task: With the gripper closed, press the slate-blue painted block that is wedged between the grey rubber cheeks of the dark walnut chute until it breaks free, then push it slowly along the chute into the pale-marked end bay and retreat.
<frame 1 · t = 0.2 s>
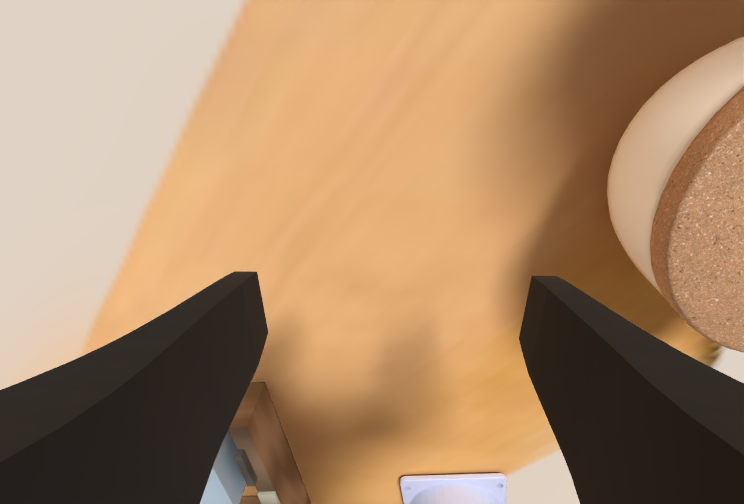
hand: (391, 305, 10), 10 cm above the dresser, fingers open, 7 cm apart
lidded jar: (687, 150, 18), on the dresser
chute: (234, 450, 30), on the dresser
slate block: (204, 451, 26), point 3 cm above the dresser, slide at 0.0 cm
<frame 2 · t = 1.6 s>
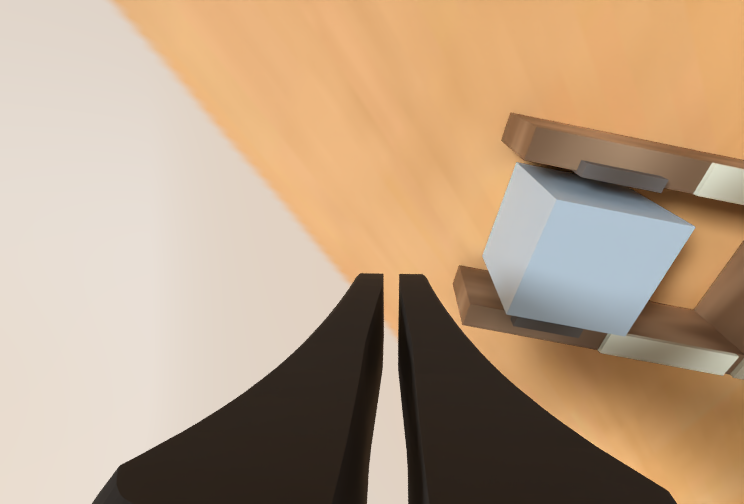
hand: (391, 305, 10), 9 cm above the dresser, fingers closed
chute: (616, 234, 19), on the dresser
slate block: (567, 244, 17), point 3 cm above the dresser, slide at 0.0 cm
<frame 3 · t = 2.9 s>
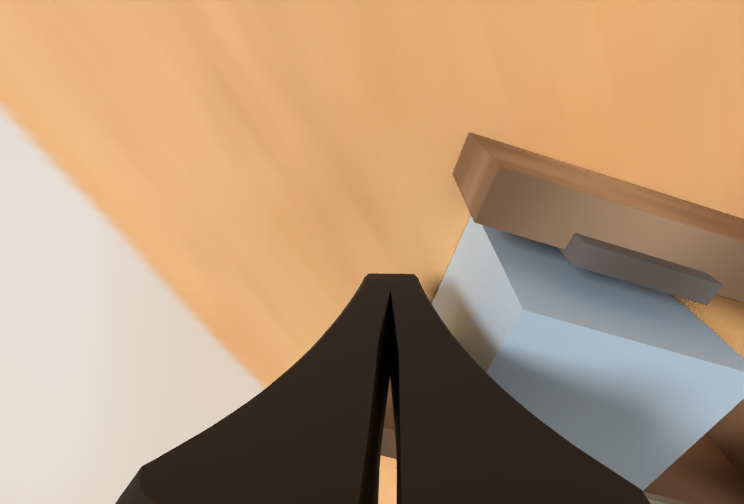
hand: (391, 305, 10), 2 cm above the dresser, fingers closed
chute: (610, 324, 13), on the dresser
slate block: (539, 349, 10), point 3 cm above the dresser, slide at 0.0 cm, touching gripper
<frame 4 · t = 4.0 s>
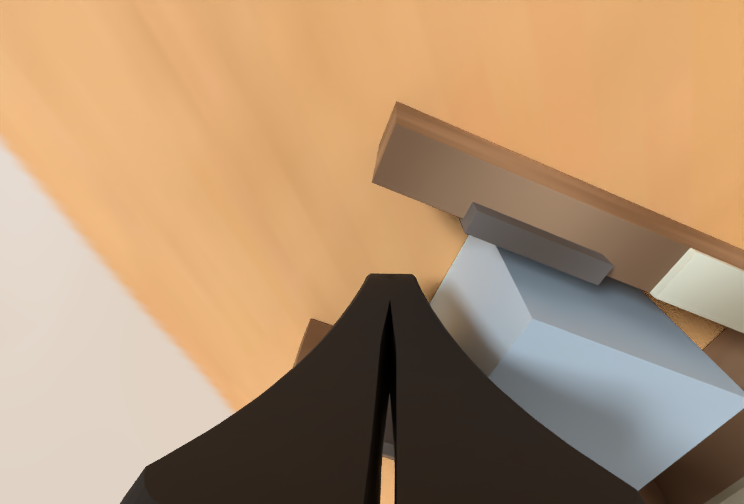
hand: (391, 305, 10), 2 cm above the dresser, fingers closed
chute: (534, 314, 13), on the dresser
slate block: (533, 358, 11), point 3 cm above the dresser, slide at 2.6 cm, touching gripper
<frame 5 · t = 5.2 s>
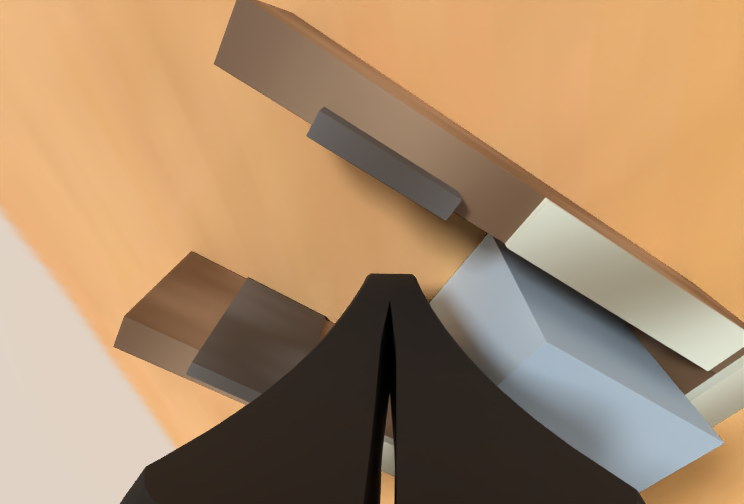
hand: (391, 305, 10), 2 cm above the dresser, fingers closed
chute: (424, 279, 13), on the dresser
slate block: (521, 376, 11), point 3 cm above the dresser, slide at 6.7 cm, touching gripper
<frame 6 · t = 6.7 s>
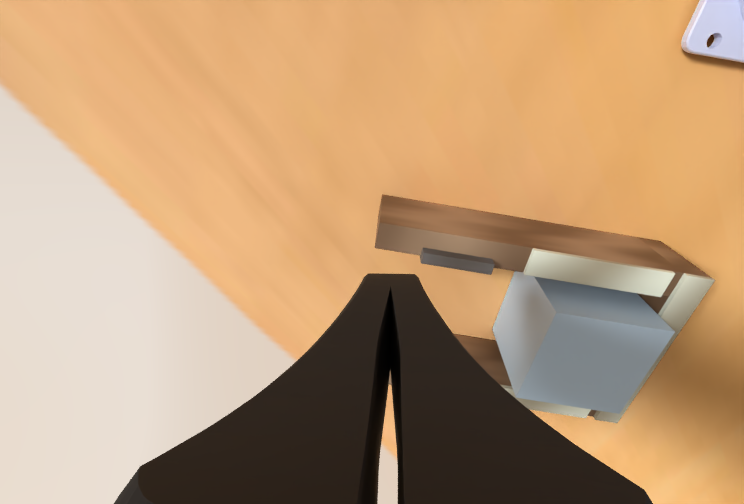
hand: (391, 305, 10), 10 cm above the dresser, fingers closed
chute: (493, 292, 21), on the dresser
slate block: (567, 330, 19), point 3 cm above the dresser, slide at 6.7 cm
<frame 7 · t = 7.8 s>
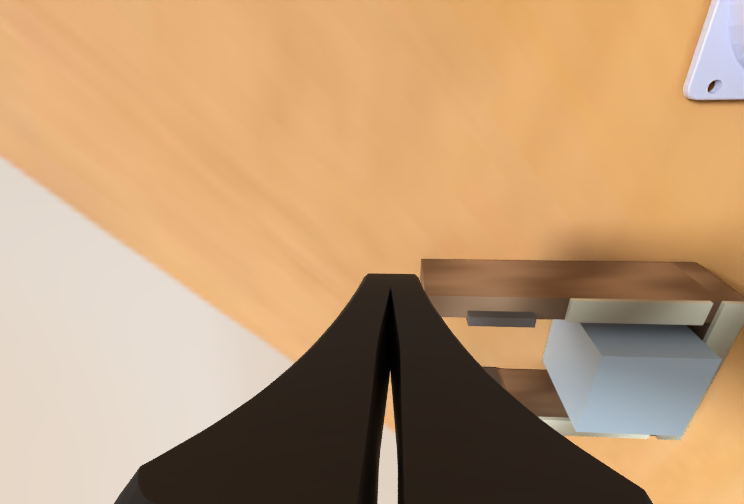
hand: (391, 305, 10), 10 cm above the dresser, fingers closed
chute: (538, 327, 22), on the dresser
slate block: (616, 359, 20), point 3 cm above the dresser, slide at 6.7 cm
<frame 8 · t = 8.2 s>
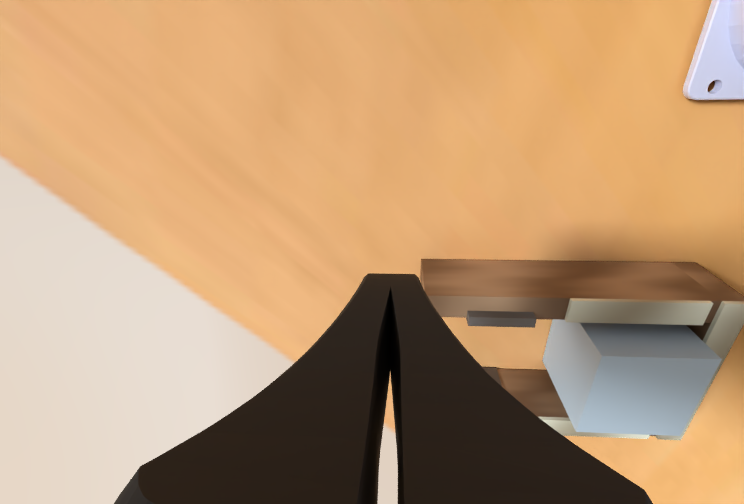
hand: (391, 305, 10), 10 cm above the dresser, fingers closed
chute: (538, 327, 22), on the dresser
slate block: (616, 359, 20), point 3 cm above the dresser, slide at 6.7 cm
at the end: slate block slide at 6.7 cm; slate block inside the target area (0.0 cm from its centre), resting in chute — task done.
